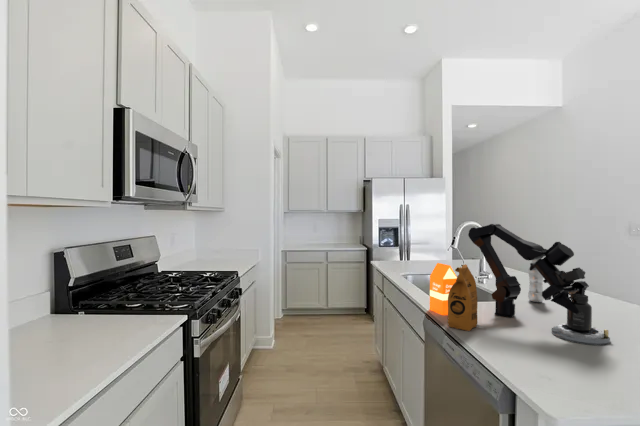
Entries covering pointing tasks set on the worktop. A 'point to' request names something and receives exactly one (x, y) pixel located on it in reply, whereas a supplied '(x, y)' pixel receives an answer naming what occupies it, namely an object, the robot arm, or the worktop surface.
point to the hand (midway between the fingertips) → (583, 311)
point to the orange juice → (441, 287)
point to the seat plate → (581, 335)
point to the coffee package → (463, 301)
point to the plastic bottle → (535, 285)
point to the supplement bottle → (580, 315)
